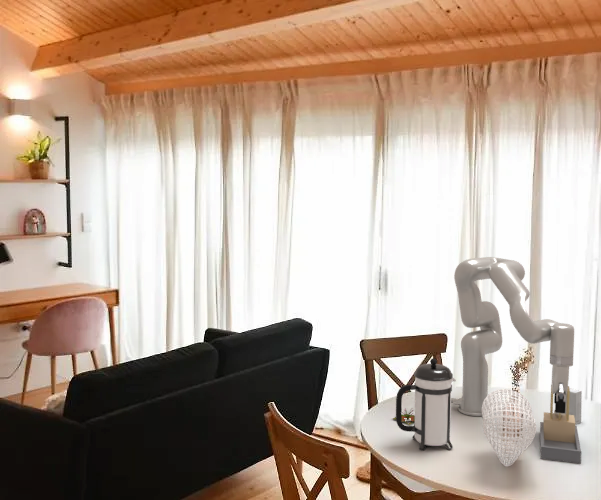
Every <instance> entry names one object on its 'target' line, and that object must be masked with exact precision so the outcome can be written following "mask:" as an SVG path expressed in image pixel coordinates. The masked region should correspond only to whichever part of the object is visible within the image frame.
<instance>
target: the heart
mask: <svg viewBox="0 0 601 500" xmlns="http://www.w3.org/2000/svg"><path fill="white" fill-rule="evenodd" d="M485 401H486V402H485ZM485 404H486V405H485ZM488 407H489V408H488ZM485 409H486V410H485ZM489 412H490V413H489ZM495 413H496V414H495ZM499 413H500V414H499ZM503 413H505V414H503ZM518 413H519V414H518ZM518 415H519V416H518ZM521 416H522V417H521ZM481 417H482V428H483V432H484V433H483V434H484V435H485V437H486V440H487V442H488V443H489V445H490V446H491V448H492V450H493V452H494V454H495V455H496V457H497V459H498V460H499V461H500V463H501V464H502V465H503V466H504V467H510V466H512V465H513V464H514V463H515V462H516V461H517V460H518V458H519V457H520V456H521V455H522V454H523V452H525V451H526V449H527V448H528V447H529V446H530V445H531V444H532V443H533V441H534V439H535V436H536V434H537V423H536V419H535V417H534V415H533V410H532V405H531V404H530V402H529V400H528V398H526V397H525V396H524V395H522V394H521V393H520V392H518V391H516V390H512V389H507V388H505V389H504V388H503V389H496V390H494V391H492V392H490V393H489V394H488V396H487V397H486V398H485V399H484V401H483V404H482V416H481ZM503 418H504V419H505V420H504V419H503ZM499 419H500V420H499ZM518 420H519V422H518ZM499 425H500V426H499ZM499 429H500V430H499ZM518 430H519V431H518ZM503 434H504V436H503ZM518 435H519V436H518ZM503 440H504V441H503Z"/></svg>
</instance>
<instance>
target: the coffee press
mask: <svg viewBox="0 0 601 500" xmlns="http://www.w3.org/2000/svg"><path fill="white" fill-rule="evenodd" d="M413 376H414V378H415V379H414V384H405V385H403V386H402V387H400V388H399V389H398V392H396V399H395V417H396V419H395V422H396V424H397V427H398V428H399V429H400V430H402V431H404V432H411V433H412V432H413V433H414V434H413V435H412V437H411V438H412V440H413V441H417V442H418V443H419V446H418V449H419V451H422V452H424V451H425V449H426V447H427V446H431V447H440V446H444V447H445V448H446V449H447V450H448V451H450V450H451V451H452V450H453V444H452V443H451V426H452V425H451V419H452V417H451V415H452V413H451V412H452V403H451V398H452V392H453V383H452V382H457V379H456V378H455V377H454V375H453V373H452V371H451V369H450V368H449V367H447V365H443V364H438V361H437V359H436V358H434V357H433V358H431V359H430V363H424V364H420V365H419V366H418V367H416V370H414V372H413ZM409 391H414V415H415V422H413V425H405V424H404V423H403V422H402V420H401V414H403V413H402V403H403V400H402V399H403V396H404V394H405V393H406V392H409Z"/></svg>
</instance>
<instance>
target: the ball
mask: <svg viewBox="0 0 601 500" xmlns="http://www.w3.org/2000/svg"><path fill="white" fill-rule="evenodd" d="M553 413H554V414H555V416H556V417H558V418H559V413H556V412H555V410H553ZM564 414H565V413H561V418H562V417H563V416H564Z"/></svg>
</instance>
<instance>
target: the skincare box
mask: <svg viewBox="0 0 601 500" xmlns="http://www.w3.org/2000/svg"><path fill="white" fill-rule="evenodd" d="M569 389H570V399H569V415H574V418H575V425H579V424H580V423H582V397H583V396H582V390H580V389H574V388H570V387H569ZM565 402H567V394H566V395H565ZM565 414H566V406H565Z"/></svg>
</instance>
